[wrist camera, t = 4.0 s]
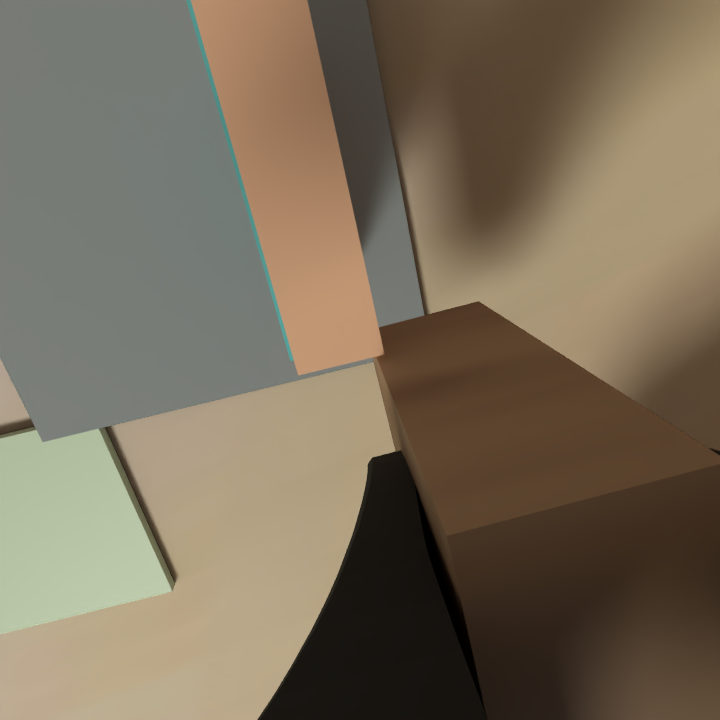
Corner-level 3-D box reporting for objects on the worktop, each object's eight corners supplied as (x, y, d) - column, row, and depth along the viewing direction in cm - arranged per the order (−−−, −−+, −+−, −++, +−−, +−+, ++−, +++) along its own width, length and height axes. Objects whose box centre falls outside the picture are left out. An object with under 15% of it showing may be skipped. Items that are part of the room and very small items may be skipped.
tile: (351, 280, 16) (384, 354, 9) (301, 292, 16) (292, 376, 9) (296, 42, 14) (278, -131, 7) (238, 56, 14) (153, -102, 7)
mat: (427, 344, 18) (430, 347, 17) (48, 436, 18) (42, 442, 17) (346, -96, 13) (347, -104, 13) (-159, 19, 13) (-173, 14, 13)
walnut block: (508, 487, 13) (724, 807, 6) (410, 513, 13) (518, 862, 6) (478, 301, 11) (729, 462, 4) (365, 330, 11) (446, 535, 4)
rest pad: (174, 583, 20) (172, 591, 20) (6, 625, 20) (1, 634, 20) (97, 411, 17) (92, 416, 17) (-97, 458, 17) (-106, 464, 17)
